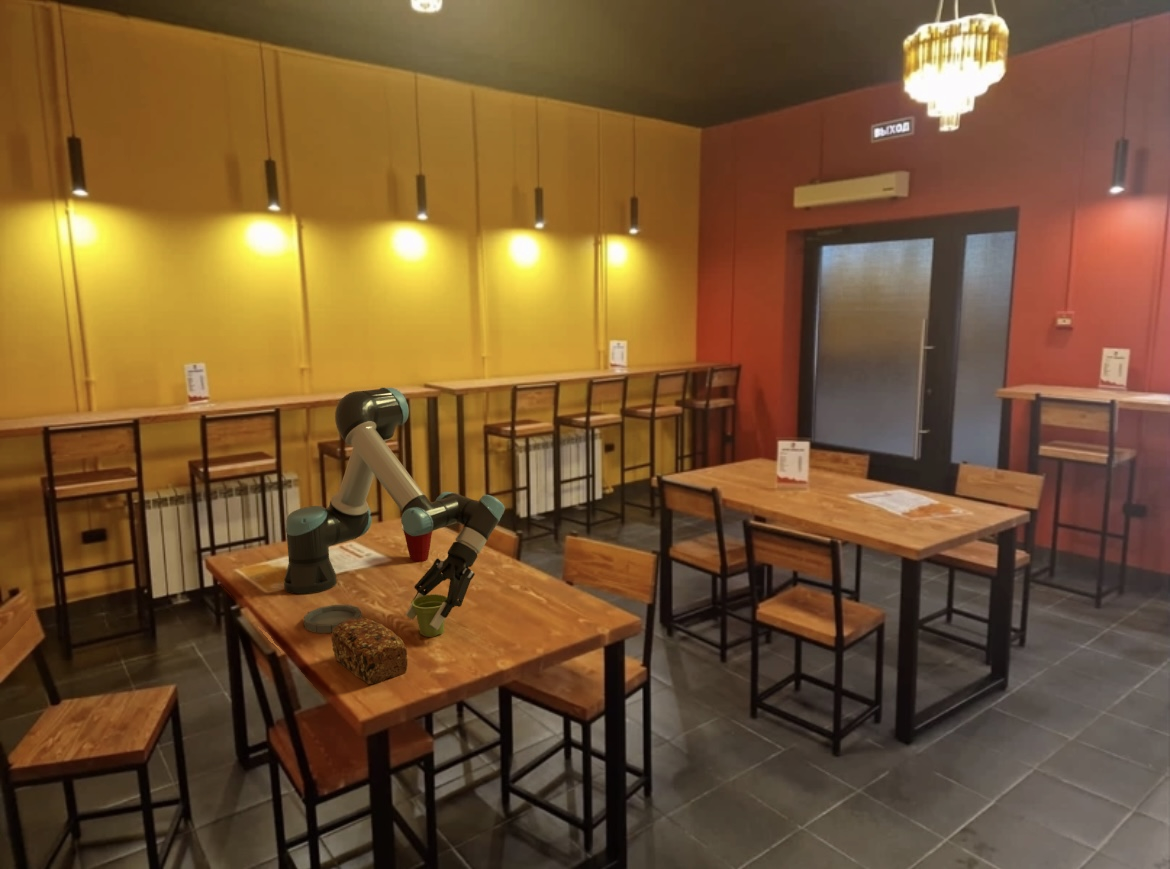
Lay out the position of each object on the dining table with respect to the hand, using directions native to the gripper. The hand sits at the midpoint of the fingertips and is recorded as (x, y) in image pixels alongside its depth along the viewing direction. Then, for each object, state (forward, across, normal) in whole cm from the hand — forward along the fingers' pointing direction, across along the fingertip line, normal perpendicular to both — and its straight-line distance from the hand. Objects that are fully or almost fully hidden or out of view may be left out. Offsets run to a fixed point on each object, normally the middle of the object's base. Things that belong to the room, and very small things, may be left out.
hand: (421, 622), depth 201 cm
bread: (+16, -4, +10) cm, 19 cm away
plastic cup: (-24, +50, -30) cm, 63 cm away
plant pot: (+1, 0, -5) cm, 5 cm away
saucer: (+9, +26, +4) cm, 28 cm away
